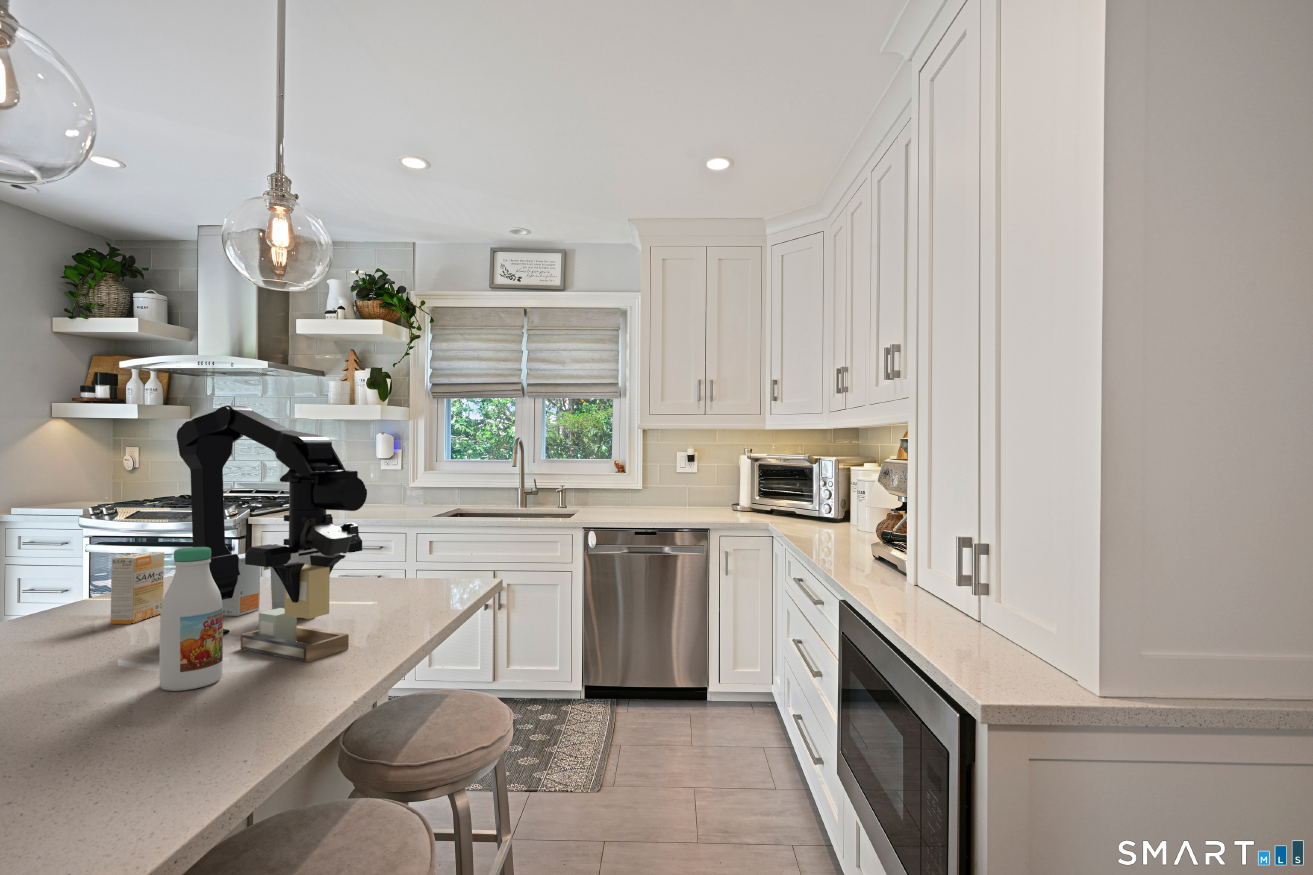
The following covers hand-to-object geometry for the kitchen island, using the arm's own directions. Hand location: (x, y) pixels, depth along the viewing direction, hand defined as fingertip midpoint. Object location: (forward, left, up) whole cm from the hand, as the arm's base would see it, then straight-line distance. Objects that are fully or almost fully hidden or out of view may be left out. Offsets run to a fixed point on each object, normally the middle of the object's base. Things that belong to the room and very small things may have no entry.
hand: (307, 599), depth 115 cm
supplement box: (-49, 0, -9) cm, 50 cm away
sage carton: (-7, 0, -9) cm, 12 cm away
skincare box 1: (-35, +12, -9) cm, 38 cm away
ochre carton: (0, 0, -3) cm, 2 cm away
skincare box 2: (-22, +15, -9) cm, 28 cm away
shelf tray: (-3, 0, -9) cm, 9 cm away
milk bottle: (-2, -18, -9) cm, 20 cm away
